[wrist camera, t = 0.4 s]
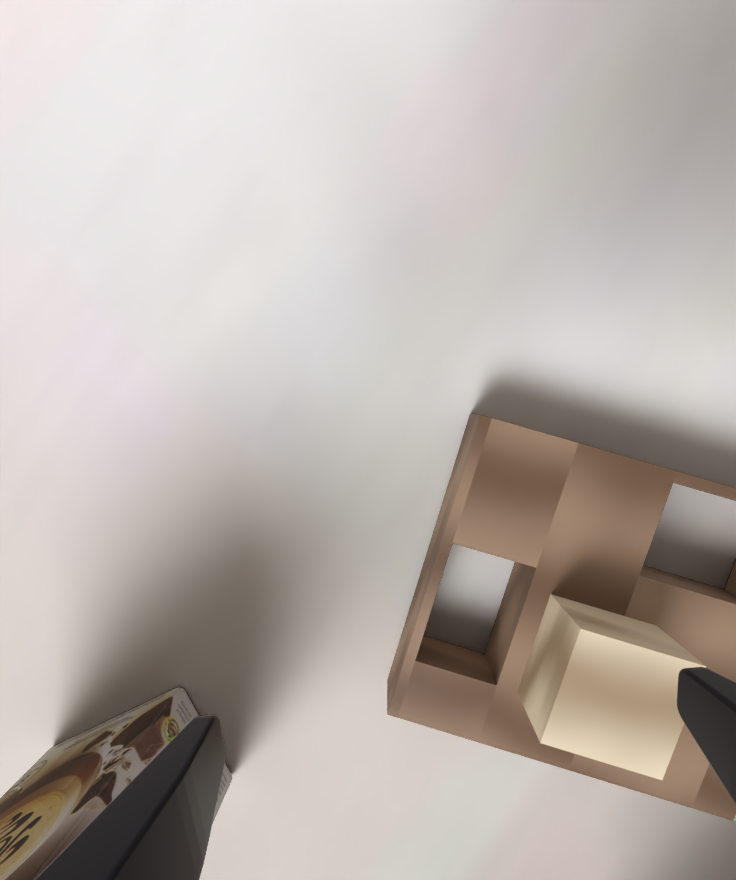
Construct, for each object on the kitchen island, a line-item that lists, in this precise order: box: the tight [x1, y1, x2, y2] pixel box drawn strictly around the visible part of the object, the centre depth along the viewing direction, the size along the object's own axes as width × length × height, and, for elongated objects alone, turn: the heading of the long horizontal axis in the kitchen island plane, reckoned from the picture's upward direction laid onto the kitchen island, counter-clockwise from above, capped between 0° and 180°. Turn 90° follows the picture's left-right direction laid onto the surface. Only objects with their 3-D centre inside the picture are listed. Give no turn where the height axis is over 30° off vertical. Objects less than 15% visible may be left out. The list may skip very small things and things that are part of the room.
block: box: [517, 594, 706, 780], centre depth 18 cm, size 5×5×3 cm
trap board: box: [387, 414, 736, 821], centre depth 20 cm, size 15×25×2 cm, turn 74°
